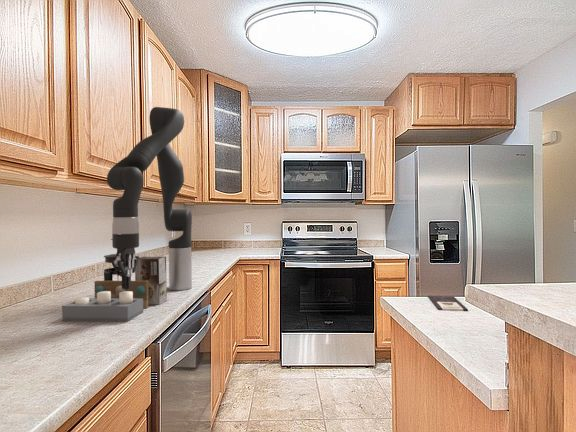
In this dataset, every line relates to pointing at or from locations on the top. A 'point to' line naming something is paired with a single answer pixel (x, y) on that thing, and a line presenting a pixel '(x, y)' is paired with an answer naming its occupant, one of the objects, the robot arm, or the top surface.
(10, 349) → the top surface
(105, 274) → the french press
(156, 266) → the coffee box
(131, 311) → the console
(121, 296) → the button
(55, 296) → the top surface
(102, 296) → the button
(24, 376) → the top surface
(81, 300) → the button
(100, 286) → the placard
